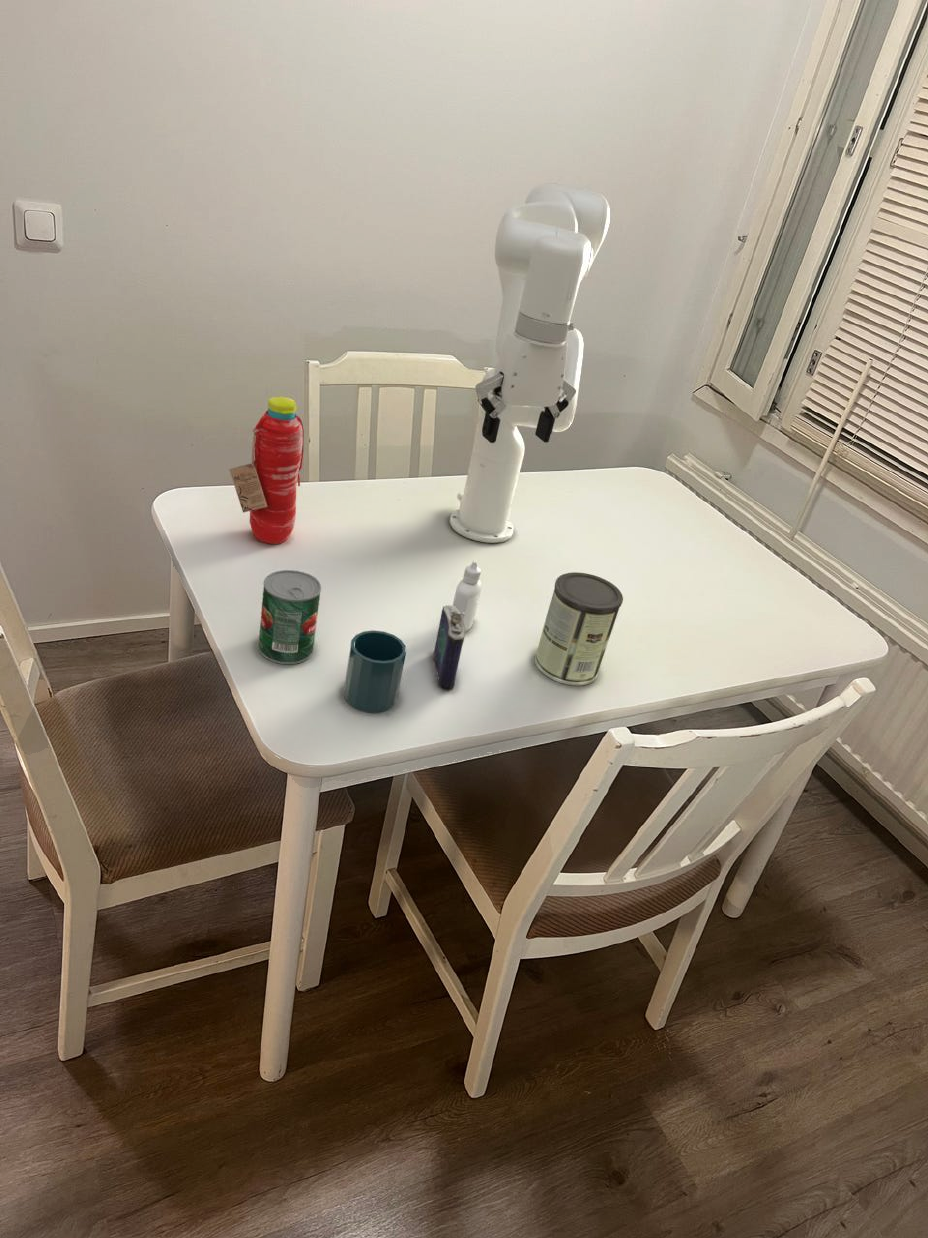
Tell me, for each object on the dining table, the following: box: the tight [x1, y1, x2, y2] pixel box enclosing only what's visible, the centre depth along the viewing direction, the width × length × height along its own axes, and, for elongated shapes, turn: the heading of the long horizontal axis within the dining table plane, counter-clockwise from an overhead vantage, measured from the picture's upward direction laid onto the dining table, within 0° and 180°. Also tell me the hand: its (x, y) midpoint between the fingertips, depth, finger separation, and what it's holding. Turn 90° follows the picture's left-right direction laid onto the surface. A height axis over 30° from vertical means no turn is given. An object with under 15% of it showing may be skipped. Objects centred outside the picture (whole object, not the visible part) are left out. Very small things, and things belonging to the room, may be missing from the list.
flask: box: [432, 604, 466, 691], centre depth 129 cm, size 9×3×11 cm, turn 8°
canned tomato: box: [257, 569, 322, 665], centre depth 126 cm, size 8×8×11 cm
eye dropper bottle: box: [452, 559, 482, 633], centre depth 140 cm, size 4×6×12 cm
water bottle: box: [228, 396, 305, 545], centre depth 148 cm, size 12×8×25 cm, turn 127°
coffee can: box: [534, 571, 624, 686], centre depth 136 cm, size 10×10×14 cm
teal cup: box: [343, 629, 407, 714], centre depth 122 cm, size 7×7×8 cm
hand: (515, 439), depth 138 cm, fingers open, 9 cm apart
